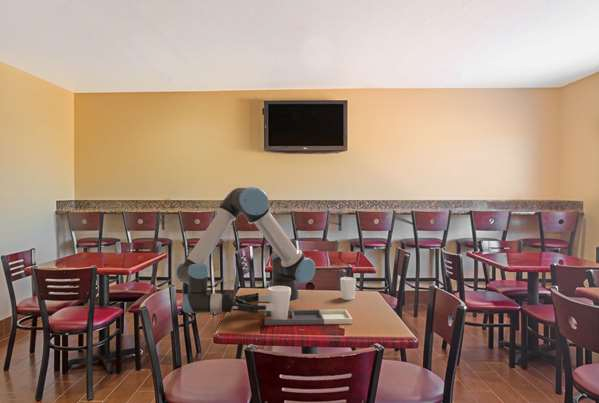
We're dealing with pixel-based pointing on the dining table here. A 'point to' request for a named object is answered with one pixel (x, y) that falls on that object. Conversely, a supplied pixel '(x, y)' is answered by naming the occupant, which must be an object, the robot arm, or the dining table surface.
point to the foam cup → (279, 301)
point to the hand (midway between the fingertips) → (274, 302)
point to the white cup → (348, 288)
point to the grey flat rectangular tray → (312, 317)
